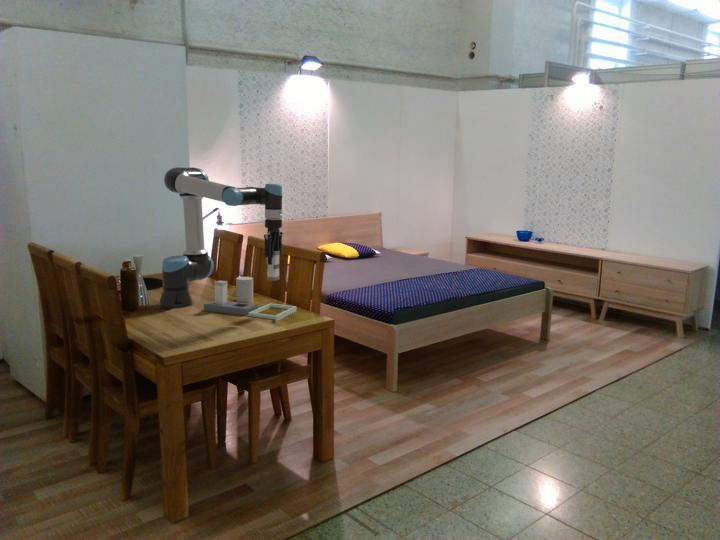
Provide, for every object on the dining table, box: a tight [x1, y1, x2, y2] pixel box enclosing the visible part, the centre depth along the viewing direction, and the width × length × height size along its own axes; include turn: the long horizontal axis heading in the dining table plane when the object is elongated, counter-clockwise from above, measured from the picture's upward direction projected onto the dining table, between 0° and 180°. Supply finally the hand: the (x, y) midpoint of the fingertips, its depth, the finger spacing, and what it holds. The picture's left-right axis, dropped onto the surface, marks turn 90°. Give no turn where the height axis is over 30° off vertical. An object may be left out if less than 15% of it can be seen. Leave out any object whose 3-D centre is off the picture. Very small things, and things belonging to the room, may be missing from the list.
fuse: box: [214, 280, 229, 305], centre depth 279 cm, size 4×4×13 cm
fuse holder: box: [203, 299, 258, 317], centre depth 278 cm, size 22×10×4 cm, turn 70°
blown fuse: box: [266, 250, 281, 282], centre depth 273 cm, size 4×4×13 cm
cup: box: [235, 276, 254, 303], centre depth 298 cm, size 8×8×12 cm
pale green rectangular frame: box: [247, 302, 297, 323], centre depth 276 cm, size 14×20×2 cm
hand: (273, 270), depth 273 cm, fingers closed on blown fuse, 4 cm apart
